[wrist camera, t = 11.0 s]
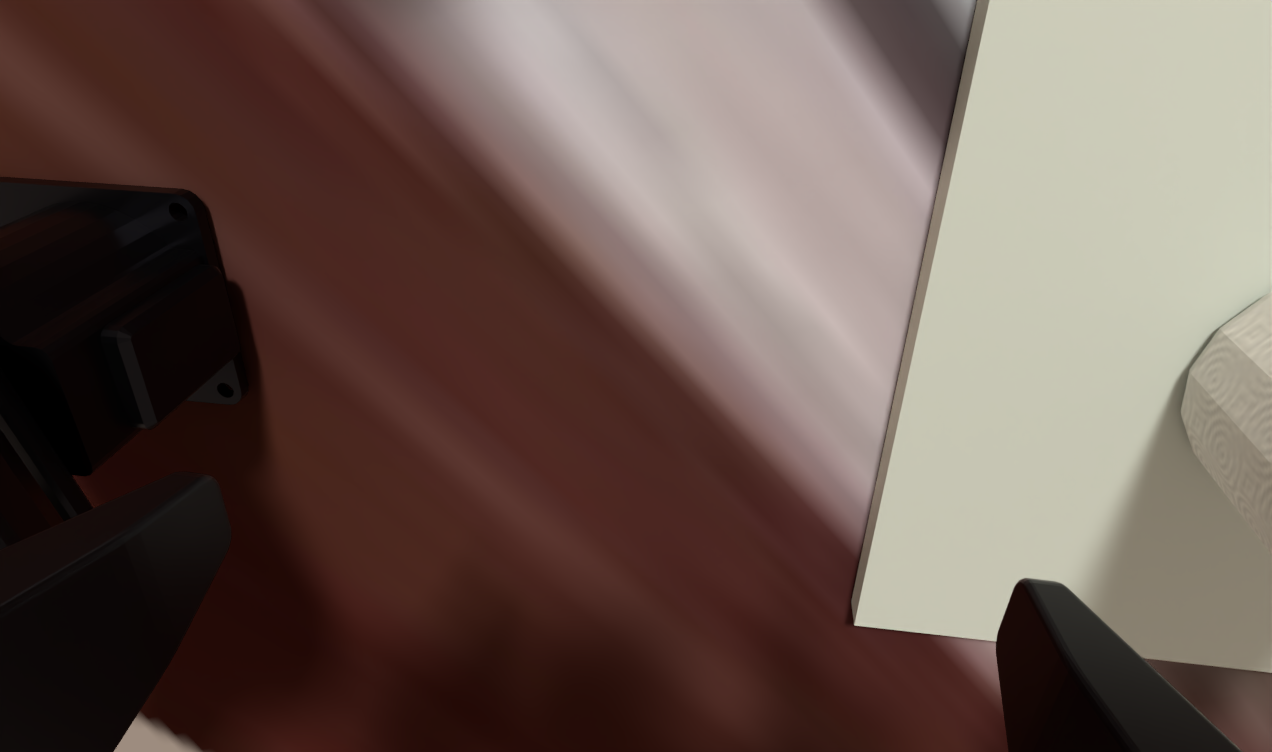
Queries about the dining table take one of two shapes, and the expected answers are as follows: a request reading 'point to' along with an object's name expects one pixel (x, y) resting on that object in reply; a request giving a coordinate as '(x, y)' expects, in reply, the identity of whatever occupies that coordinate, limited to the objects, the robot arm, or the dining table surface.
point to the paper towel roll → (1236, 413)
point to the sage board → (1082, 331)
